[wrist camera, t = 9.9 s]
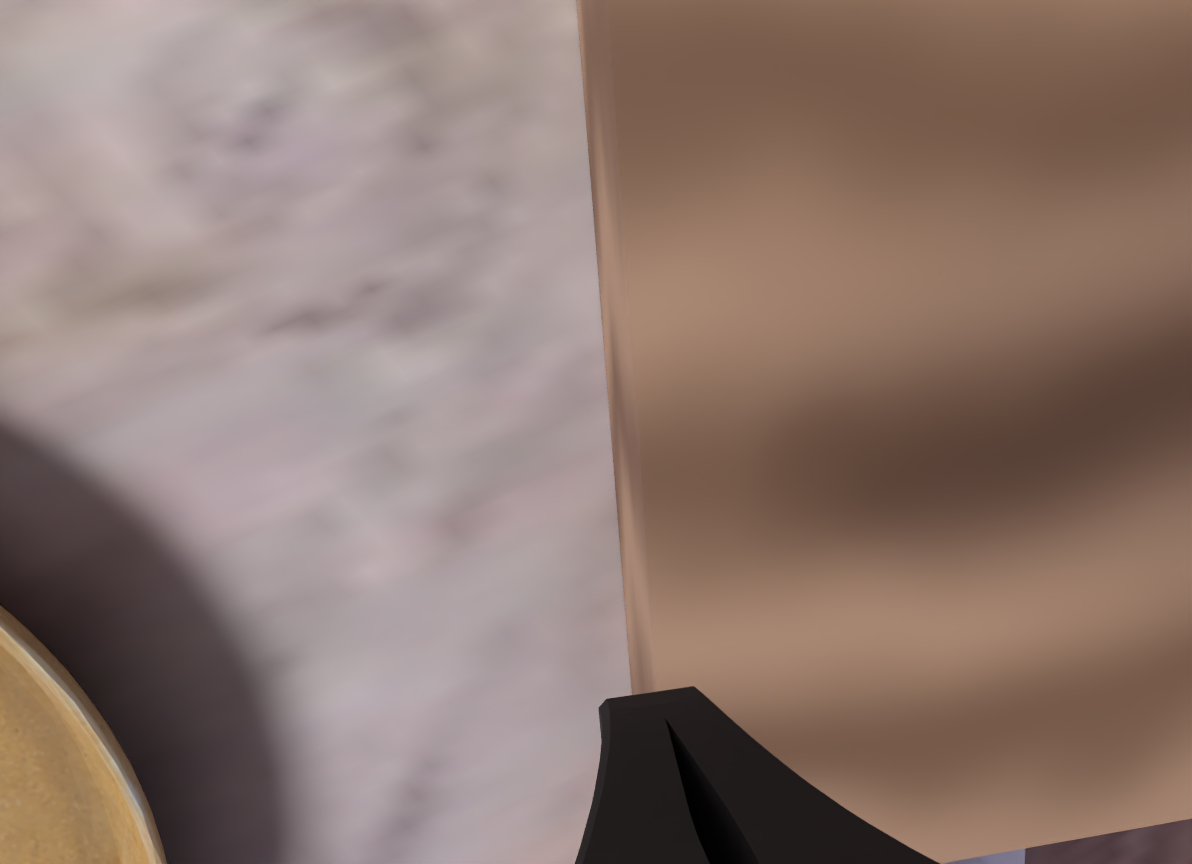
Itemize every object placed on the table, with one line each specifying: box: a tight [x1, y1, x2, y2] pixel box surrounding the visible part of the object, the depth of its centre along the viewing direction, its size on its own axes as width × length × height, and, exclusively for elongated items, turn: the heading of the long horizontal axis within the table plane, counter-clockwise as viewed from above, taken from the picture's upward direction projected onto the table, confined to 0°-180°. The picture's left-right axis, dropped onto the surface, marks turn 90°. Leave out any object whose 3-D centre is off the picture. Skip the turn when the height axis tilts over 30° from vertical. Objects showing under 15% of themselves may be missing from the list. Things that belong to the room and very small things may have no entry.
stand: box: [576, 0, 1192, 864], centre depth 19 cm, size 20×14×4 cm
